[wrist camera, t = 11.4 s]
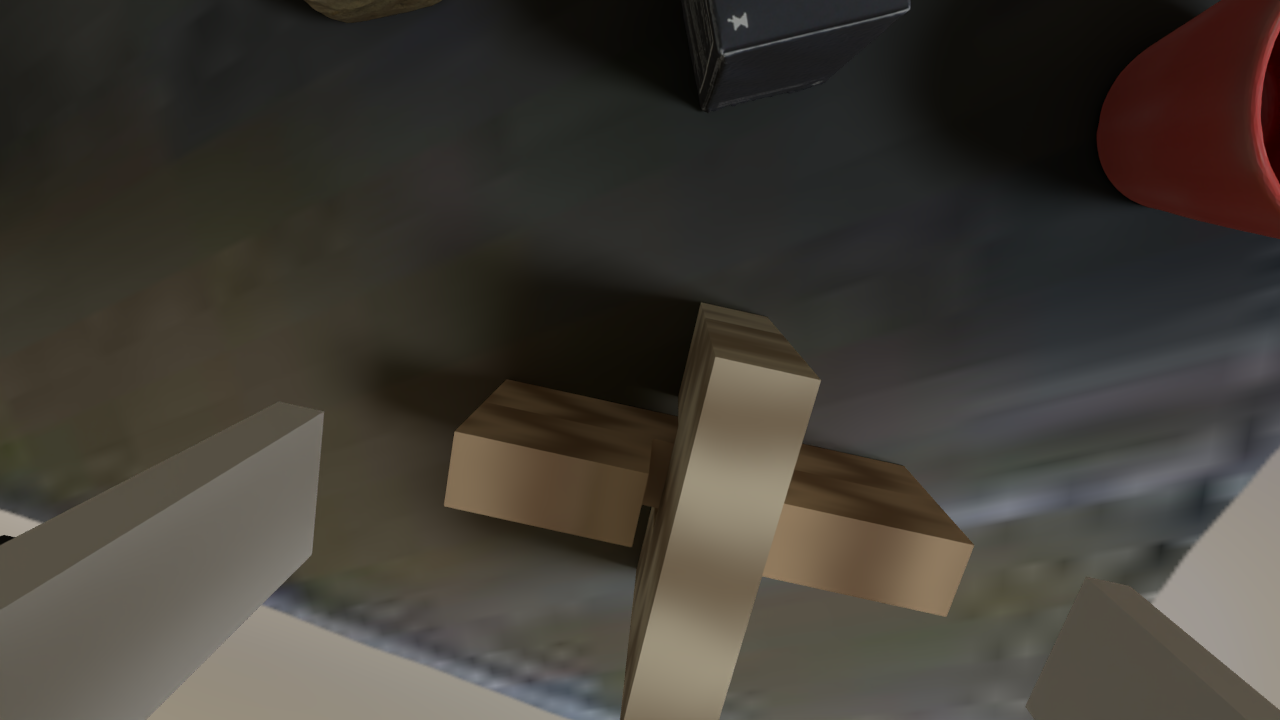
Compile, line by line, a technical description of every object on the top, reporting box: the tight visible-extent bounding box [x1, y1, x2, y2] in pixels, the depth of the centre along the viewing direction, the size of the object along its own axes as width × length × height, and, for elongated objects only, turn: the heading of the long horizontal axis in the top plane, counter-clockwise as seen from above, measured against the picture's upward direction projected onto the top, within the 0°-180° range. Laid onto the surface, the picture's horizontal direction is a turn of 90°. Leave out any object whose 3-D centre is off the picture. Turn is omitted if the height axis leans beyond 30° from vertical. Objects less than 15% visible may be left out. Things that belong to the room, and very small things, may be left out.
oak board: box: [444, 379, 974, 617], centre depth 29 cm, size 22×4×8 cm, turn 78°
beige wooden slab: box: [620, 302, 821, 720], centre depth 27 cm, size 16×4×12 cm, turn 168°
